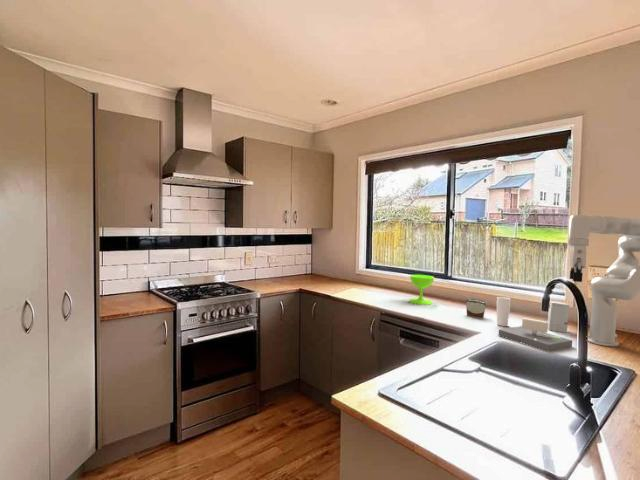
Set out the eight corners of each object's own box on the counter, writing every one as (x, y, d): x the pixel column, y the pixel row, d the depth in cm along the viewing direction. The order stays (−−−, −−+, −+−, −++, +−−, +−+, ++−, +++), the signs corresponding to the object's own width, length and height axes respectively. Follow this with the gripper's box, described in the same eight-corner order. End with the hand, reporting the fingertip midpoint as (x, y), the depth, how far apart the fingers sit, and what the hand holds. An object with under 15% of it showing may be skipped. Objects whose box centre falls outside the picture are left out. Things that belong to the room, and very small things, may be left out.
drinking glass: (496, 322, 202) (498, 296, 201) (510, 325, 198) (512, 298, 197) (493, 325, 197) (495, 297, 196) (507, 327, 192) (509, 299, 192)
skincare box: (549, 330, 190) (551, 302, 190) (546, 327, 196) (548, 300, 195) (567, 332, 187) (569, 304, 187) (564, 330, 193) (566, 302, 192)
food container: (489, 317, 213) (490, 300, 213) (485, 319, 209) (486, 302, 209) (468, 313, 222) (469, 297, 221) (464, 315, 217) (465, 298, 217)
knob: (521, 332, 172) (522, 318, 172) (522, 331, 174) (523, 317, 174) (559, 339, 163) (560, 325, 162) (559, 338, 165) (560, 324, 165)
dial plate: (521, 331, 185) (522, 325, 185) (572, 346, 164) (572, 340, 164) (498, 335, 177) (498, 329, 177) (548, 351, 156) (548, 344, 155)
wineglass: (437, 303, 248) (439, 277, 248) (422, 305, 239) (423, 278, 239) (419, 299, 261) (420, 274, 261) (404, 300, 252) (405, 275, 252)
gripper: (592, 243, 153) (589, 283, 154) (584, 242, 168) (582, 279, 169) (571, 242, 156) (568, 281, 157) (565, 241, 172) (563, 277, 172)
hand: (575, 280), depth 163 cm, fingers open, 9 cm apart
